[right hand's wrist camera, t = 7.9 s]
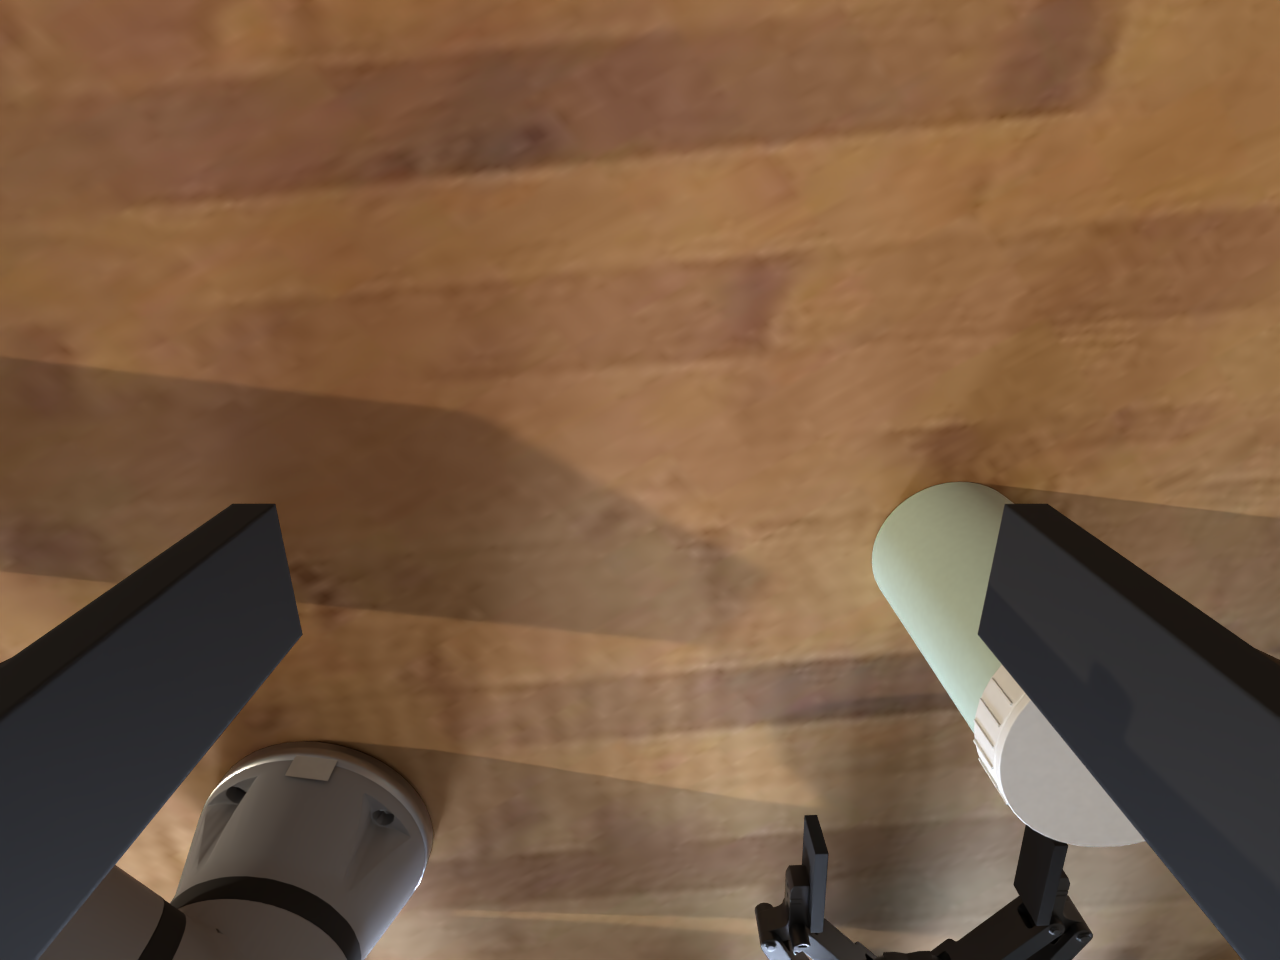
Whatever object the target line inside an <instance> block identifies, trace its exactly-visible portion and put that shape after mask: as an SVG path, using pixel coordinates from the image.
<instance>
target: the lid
mask: <svg viewBox="0 0 1280 960" xmlns="http://www.w3.org/2000/svg"><path fill="white" fill-rule="evenodd" d="M974 723H975V725H974V734H975V739H974V740H973V742H974V743H975V745H976V748H977V752H978V754H979V757H980V758H978V760H979V761H980V763H981V765H982V766H983V768H984V769H985V771H986V772H987V774H988V776H989V778H990V779H991V781H992V782H993V784H994V786H995V787H996V789H997V790H998V792H999V794H1000V795H1001V797H1002V798H1003V800H1004V802H1005V803H1006V805H1009V806H1010V808H1011V809H1012V810H1013V812H1014V813H1015V814H1016V815H1017V816H1018V817H1019V818H1020V819H1021V820H1022V821H1023V822H1024V823H1025V824H1026V825H1028V826H1029V827H1030V828H1032V829H1033V830H1035V831H1037V832H1039V833H1040V834H1042V835H1044V836H1046V837H1049V838H1051V839H1054V840H1057V841H1060V842H1064V843H1068V844H1072V845H1079V846H1086V847H1114V846H1124V845H1130V844H1136V843H1140V842H1144V841H1145V840H1144V838H1143V837H1142V836H1141V835H1140V833H1139V832H1138V831H1137V830H1136V829H1135V827H1134V826H1133V825H1132V824H1131V822H1130V821H1129V820H1128V819H1127V817H1126V816H1125V815H1124V814H1123V813H1122V811H1121V810H1120V809H1119V808H1118V806H1117V805H1116V804H1115V803H1114V801H1113V800H1112V799H1111V798H1110V797H1109V795H1108V794H1107V793H1106V792H1105V790H1104V789H1103V788H1102V787H1101V786H1100V784H1099V783H1098V782H1097V781H1096V779H1095V778H1094V777H1093V776H1092V774H1091V773H1090V772H1089V771H1088V770H1087V768H1086V767H1085V766H1084V765H1083V763H1082V762H1081V761H1080V760H1079V759H1078V757H1077V756H1076V755H1075V754H1074V752H1073V751H1072V750H1071V749H1070V747H1069V746H1068V745H1067V744H1066V743H1065V741H1064V740H1063V739H1062V738H1061V736H1060V735H1059V734H1058V733H1057V731H1056V730H1055V729H1054V728H1053V727H1052V725H1051V724H1050V723H1049V722H1048V720H1047V719H1046V718H1045V717H1044V716H1043V714H1042V713H1041V712H1040V711H1039V709H1038V708H1037V707H1036V706H1035V704H1034V703H1033V702H1032V701H1031V700H1030V698H1029V697H1028V696H1027V695H1026V693H1025V692H1024V691H1023V690H1022V689H1021V687H1020V686H1019V685H1018V684H1017V682H1016V681H1015V680H1014V679H1013V677H1012V676H1011V675H1010V674H1009V673H1008V671H1007V670H1006V669H1005V668H1004V666H1003V665H1001V666H1000V667H999V668H998V670H997V671H996V672H995V674H994V675H993V676H992V677H991V679H990V681H989V682H988V684H987V686H986V688H985V689H984V692H983V694H982V696H981V698H980V699H979V704H978V708H977V711H976V715H975V719H974Z"/></svg>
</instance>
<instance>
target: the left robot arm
mask: <svg viewBox="0 0 1280 960" xmlns="http://www.w3.org/2000/svg"><path fill="white" fill-rule="evenodd" d="M1067 848H1068V844H1067V843H1064V842H1060V841H1057V840H1054V839H1051V838H1049V837H1046V836H1044V835H1042V834H1040V833H1039V832H1037V831H1035V830H1033V829H1032V828H1030V827H1029V826H1028V825H1026V827H1025V832H1024V837H1023V841H1022V846H1021V851H1020V856H1019V861H1018V866H1017V870H1016V875H1015V880H1014V887H1015V888H1016V890H1017V892H1018V894H1019V895H1020V896H1018V897H1017V898H1016V899H1014V900H1013V901H1012V902H1010V903H1009V904H1007V905H1006V906H1005V907H1003V908H1002V909H1001V910H999V911H998V912H997V913H995V914H994V915H993V916H991V917H990V918H988V919H987V920H986V921H984V922H983V923H982V924H980V925H979V926H978V927H976V928H975V929H974V930H972V931H971V932H969V933H968V934H967V935H965V936H964V937H963V938H961V939H960V940H959V941H957V942H956V941H954V940H952V939H947V940H945V941H944V942H943V943H941V944H940V945H939V946H937V947H936V948H935V949H933V950H932V951H931V952H930V951H917V952H913V953H908V954H904V953H898V952H883V956H880V957H876V956H875V955H874V954H873V953H872V952H870V951H869V950H868V949H867V948H866V947H864V946H863V945H862V944H861V943H860V942H856V943H853V942H852V941H851V940H850V939H848V938H847V937H846V936H845V935H844V934H843V933H841V932H840V931H839V930H838V929H837V928H835V927H834V926H833V925H832V924H831V923H830V922H828V921H827V920H826V919H825V918H824V909H825V895H826V880H827V866H828V851H827V847H826V844H825V840H824V837H823V834H822V830H821V827H820V824H819V820H818V817H817V815H805V818H804V837H803V856H802V865H789V867H788V869H787V870H786V879H785V898H784V900H783V903H782V904H781V905H779V906H777V907H773V906H772V905H771V904H768V903H761V904H759V905H757V906H756V907H755V914H756V920H757V926H758V932H759V938H760V944H761V948H762V950H763V952H764V953H765V955H766V956H767V957H768V959H769V960H809V959H808V957H807V956H806V954H807V955H808V956H809V957H811V958H812V959H813V960H1072V959H1073V958H1074V957H1075V956H1076V955H1077V954H1078V953H1079V952H1080V951H1081V950H1082V948H1083V947H1084V946H1085V945H1086V944H1087V943H1088V942H1089V941H1090V940H1091V939H1092V938H1093V934H1092V932H1091V931H1090V929H1089V928H1088V926H1087V924H1086V923H1085V921H1084V920H1083V918H1082V916H1081V915H1080V913H1079V912H1078V910H1077V908H1076V907H1075V905H1074V904H1073V902H1072V901H1071V899H1070V898H1069V896H1068V895H1067V894H1068V890H1069V886H1070V882H1069V879H1068V877H1067V875H1066V874H1065V872H1064V871H1063V865H1064V861H1065V857H1066V853H1067ZM805 953H806V954H805Z"/></svg>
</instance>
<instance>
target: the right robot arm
mask: <svg viewBox="0 0 1280 960" xmlns="http://www.w3.org/2000/svg"><path fill="white" fill-rule="evenodd" d="M301 636H302V630H301V625H300V620H299V615H298V610H297V606H296V601H295V596H294V591H293V586H292V582H291V577H290V572H289V567H288V563H287V558H286V553H285V548H284V543H283V539H282V534H281V529H280V524H279V520H278V515H277V510H276V505H275V504H232V505H230V506H229V507H227V508H226V509H225V510H223V511H222V512H220V513H219V514H217V515H216V516H214V517H213V518H212V519H210V520H209V521H207V522H206V523H204V524H203V525H202V526H200V527H199V528H197V529H196V530H194V531H193V532H192V533H190V534H189V535H187V536H186V537H184V538H183V539H181V540H180V541H179V542H177V543H176V544H174V545H173V546H171V547H170V548H169V549H167V550H166V551H164V552H163V553H161V554H160V555H159V556H157V557H156V558H154V559H153V560H151V561H150V562H148V563H147V564H146V565H144V566H143V567H141V568H140V569H138V570H137V571H136V572H134V573H133V574H131V575H130V576H128V577H127V578H126V579H124V580H123V581H121V582H120V583H118V584H117V585H115V586H114V587H113V588H111V589H110V590H108V591H107V592H105V593H104V594H103V595H101V596H100V597H98V598H97V599H95V600H94V601H93V602H91V603H90V604H88V605H87V606H85V607H84V608H82V609H81V610H80V611H78V612H77V613H75V614H74V615H72V616H71V617H70V618H68V619H67V620H65V621H64V622H62V623H61V624H60V625H58V626H57V627H55V628H54V629H52V630H51V631H49V632H48V633H47V634H45V635H44V636H42V637H41V638H39V639H38V640H37V641H35V642H34V643H32V644H31V645H29V646H28V647H27V648H25V649H24V650H22V651H21V652H19V653H18V654H16V655H15V656H14V657H12V658H10V659H8V660H6V661H4V662H2V663H0V960H364V959H365V958H366V956H367V955H368V954H369V952H370V951H371V950H372V948H373V947H374V946H375V944H376V943H377V942H378V940H379V939H380V938H381V936H382V935H383V934H384V932H385V931H386V930H387V928H388V927H389V926H390V924H391V923H392V922H393V920H394V919H395V917H396V916H397V915H398V913H399V912H400V911H401V909H402V908H403V907H404V905H405V904H406V903H407V901H408V900H409V899H410V897H411V896H412V894H413V893H414V891H415V889H416V888H417V887H418V885H419V883H420V881H421V879H422V877H423V874H424V871H425V868H426V865H427V862H428V859H429V856H430V853H431V849H432V844H433V829H432V824H431V819H430V816H429V813H428V811H427V809H426V806H425V804H424V803H423V801H422V799H421V798H420V796H419V795H418V793H417V792H416V791H415V790H414V788H413V787H412V786H411V785H410V784H409V783H408V782H407V781H406V780H405V779H404V778H403V777H402V776H401V775H399V774H398V773H397V772H396V771H394V770H393V769H392V768H390V767H389V766H387V765H385V764H384V763H382V762H381V761H379V760H377V759H375V758H373V757H371V756H369V755H366V754H364V753H362V752H359V751H356V750H353V749H350V748H347V747H343V746H339V745H334V744H329V743H321V742H290V743H282V744H277V745H273V746H269V747H266V748H263V749H261V750H258V751H256V752H254V753H252V754H250V755H248V756H246V757H245V758H243V759H242V760H240V761H239V762H237V763H236V764H235V765H234V766H233V767H232V768H231V769H230V770H229V771H228V772H227V773H226V775H225V776H224V777H223V779H222V780H221V781H220V783H219V784H218V785H217V787H216V788H215V789H214V791H213V792H212V793H211V795H210V796H209V798H208V799H207V801H206V803H205V805H204V808H203V811H202V813H201V815H200V818H199V821H198V824H197V828H196V831H195V834H194V837H193V840H192V844H191V847H190V850H189V853H188V856H187V860H186V863H185V866H184V869H183V872H182V876H181V879H180V882H179V885H178V888H177V892H176V895H175V897H174V898H173V900H172V901H171V903H168V902H167V901H165V900H164V899H163V898H162V897H160V896H159V895H158V894H156V893H155V892H153V891H152V890H150V889H149V888H147V887H146V886H145V885H143V884H142V883H140V882H139V881H137V880H136V879H135V878H133V877H132V876H130V875H129V874H127V873H126V872H125V871H123V870H122V869H120V868H119V867H117V866H116V865H115V864H116V863H117V862H118V860H119V859H120V858H121V857H122V856H123V854H124V853H125V852H126V851H127V849H128V848H129V847H130V846H131V844H132V843H133V842H134V841H135V840H136V838H137V837H138V836H139V835H140V833H141V832H142V831H143V830H144V829H145V827H146V826H147V825H148V824H149V822H150V821H151V820H152V819H153V817H154V816H155V815H156V814H157V813H158V811H159V810H160V809H161V808H162V806H163V805H164V804H165V803H166V801H167V800H168V799H169V798H170V797H171V795H172V794H173V793H174V792H175V790H176V789H177V788H178V787H179V786H180V784H181V783H182V782H183V781H184V779H185V778H186V777H187V776H188V774H189V773H190V772H191V771H192V770H193V768H194V767H195V766H196V765H197V763H198V762H199V761H200V760H201V759H202V757H203V756H204V755H205V754H206V752H207V751H208V750H209V749H210V747H211V746H212V745H213V744H214V743H215V741H216V740H217V739H218V738H219V736H220V735H221V734H222V733H223V731H224V730H225V729H226V728H227V727H228V725H229V724H230V723H231V722H232V720H233V719H234V718H235V717H236V716H237V714H238V713H239V712H240V711H241V709H242V708H243V707H244V706H245V704H246V703H247V702H248V701H249V700H250V698H251V697H252V696H253V695H254V693H255V692H256V691H257V690H258V689H259V687H260V686H261V685H262V684H263V682H264V681H265V680H266V679H267V677H268V676H269V675H270V674H271V673H272V671H273V670H274V669H275V668H276V666H277V665H278V664H279V663H280V661H281V660H282V659H283V658H284V657H285V655H286V654H287V653H288V652H289V650H290V649H291V648H292V647H293V646H294V644H295V643H296V642H297V641H298V639H299V638H300V637H301ZM978 636H979V637H980V638H981V639H982V641H983V642H984V643H985V644H986V646H987V647H988V648H989V649H990V650H991V652H992V653H993V654H994V655H995V657H996V658H997V659H998V660H999V661H1000V663H1001V664H1002V665H1003V666H1004V668H1005V669H1006V670H1007V671H1008V673H1009V674H1010V675H1011V676H1012V677H1013V679H1014V680H1015V681H1016V682H1017V684H1018V685H1019V686H1020V687H1021V689H1022V690H1023V691H1024V692H1025V693H1026V695H1027V696H1028V697H1029V698H1030V700H1031V701H1032V702H1033V703H1034V704H1035V706H1036V707H1037V708H1038V709H1039V711H1040V712H1041V713H1042V714H1043V716H1044V717H1045V718H1046V719H1047V720H1048V722H1049V723H1050V724H1051V725H1052V727H1053V728H1054V729H1055V730H1056V731H1057V733H1058V734H1059V735H1060V736H1061V738H1062V739H1063V740H1064V741H1065V743H1066V744H1067V745H1068V746H1069V747H1070V749H1071V750H1072V751H1073V752H1074V754H1075V755H1076V756H1077V757H1078V759H1079V760H1080V761H1081V762H1082V763H1083V765H1084V766H1085V767H1086V768H1087V770H1088V771H1089V772H1090V773H1091V774H1092V776H1093V777H1094V778H1095V779H1096V781H1097V782H1098V783H1099V784H1100V786H1101V787H1102V788H1103V789H1104V790H1105V792H1106V793H1107V794H1108V795H1109V797H1110V798H1111V799H1112V800H1113V801H1114V803H1115V804H1116V805H1117V806H1118V808H1119V809H1120V810H1121V811H1122V813H1123V814H1124V815H1125V816H1126V817H1127V819H1128V820H1129V821H1130V822H1131V824H1132V825H1133V826H1134V827H1135V829H1136V830H1137V831H1138V832H1139V833H1140V835H1141V836H1142V837H1143V838H1144V840H1145V841H1146V842H1147V843H1148V844H1149V846H1150V847H1151V848H1152V849H1153V851H1154V852H1155V853H1156V854H1157V856H1158V857H1159V858H1160V859H1161V860H1162V862H1163V863H1164V864H1165V865H1166V867H1167V868H1168V869H1169V870H1170V872H1171V873H1172V874H1173V875H1174V876H1175V878H1176V879H1177V880H1178V881H1179V883H1180V884H1181V885H1182V886H1183V887H1184V889H1185V890H1186V891H1187V892H1188V894H1189V895H1190V896H1191V897H1192V899H1193V900H1194V901H1195V902H1196V903H1197V905H1198V906H1199V907H1200V908H1201V910H1202V911H1203V912H1204V913H1205V914H1206V916H1207V917H1208V918H1209V919H1210V921H1211V922H1212V923H1213V924H1214V926H1215V927H1216V928H1217V929H1218V930H1219V932H1220V933H1221V934H1222V935H1223V937H1224V938H1225V939H1226V940H1227V942H1228V943H1229V944H1230V945H1231V946H1232V948H1233V949H1234V950H1235V951H1236V953H1237V954H1238V955H1239V956H1240V957H1241V959H1242V960H1280V660H1279V659H1277V658H1274V657H1272V656H1270V655H1268V654H1266V653H1264V652H1262V651H1260V650H1258V649H1255V648H1253V647H1252V646H1251V645H1249V644H1248V643H1246V642H1245V641H1243V640H1242V639H1241V638H1239V637H1238V636H1236V635H1235V634H1233V633H1232V632H1231V631H1229V630H1228V629H1226V628H1225V627H1223V626H1222V625H1220V624H1219V623H1218V622H1216V621H1215V620H1213V619H1212V618H1210V617H1209V616H1208V615H1206V614H1205V613H1203V612H1202V611H1200V610H1199V609H1198V608H1196V607H1195V606H1193V605H1192V604H1190V603H1189V602H1187V601H1186V600H1185V599H1183V598H1182V597H1180V596H1179V595H1177V594H1176V593H1175V592H1173V591H1172V590H1170V589H1169V588H1167V587H1166V586H1165V585H1163V584H1162V583H1160V582H1159V581H1157V580H1156V579H1154V578H1153V577H1152V576H1150V575H1149V574H1147V573H1146V572H1144V571H1143V570H1142V569H1140V568H1139V567H1137V566H1136V565H1134V564H1133V563H1132V562H1130V561H1129V560H1127V559H1126V558H1124V557H1123V556H1121V555H1120V554H1119V553H1117V552H1116V551H1114V550H1113V549H1111V548H1110V547H1109V546H1107V545H1106V544H1104V543H1103V542H1101V541H1100V540H1099V539H1097V538H1096V537H1094V536H1093V535H1091V534H1090V533H1088V532H1087V531H1086V530H1084V529H1083V528H1081V527H1080V526H1078V525H1077V524H1076V523H1074V522H1073V521H1071V520H1070V519H1068V518H1067V517H1066V516H1064V515H1063V514H1061V513H1060V512H1058V511H1057V510H1055V509H1054V508H1053V507H1051V506H1050V505H1048V504H1005V505H1004V510H1003V515H1002V520H1001V524H1000V529H999V534H998V539H997V543H996V548H995V553H994V558H993V563H992V567H991V572H990V577H989V582H988V586H987V591H986V596H985V601H984V606H983V610H982V615H981V620H980V625H979V630H978Z"/></svg>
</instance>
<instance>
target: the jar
mask: <svg viewBox="0 0 1280 960" xmlns="http://www.w3.org/2000/svg"><path fill="white" fill-rule="evenodd" d="M1005 504H1014V503H1013V502H1012V501H1010V500H1009V499H1008V498H1006V497H1005V496H1004V495H1002V494H1001V493H999V492H998V491H996V490H994V489H992V488H990V487H987V486H984V485H981V484H977V483H970V482H951V483H944V484H939V485H935V486H932V487H929V488H926V489H924V490H922V491H920V492H918V493H916V494H914V495H913V496H911V497H909V498H908V499H906V500H905V501H904V502H903V503H901V504H900V505H899V506H898V507H897V508H896V509H895V510H894V511H893V512H892V513H891V514H890V515H889V516H888V518H887V519H886V520H885V522H884V523H883V525H882V526H881V528H880V530H879V532H878V534H877V537H876V540H875V543H874V547H873V552H872V568H873V573H874V577H875V580H876V582H877V584H878V587H879V588H880V590H881V591H882V593H883V594H884V596H885V597H886V599H887V601H888V602H889V604H890V605H891V607H892V608H893V610H894V611H895V613H896V614H897V616H898V617H899V619H900V620H901V622H902V624H903V625H904V627H905V628H906V630H907V631H908V633H909V634H910V636H911V637H912V639H913V640H914V642H915V644H916V645H917V647H918V648H919V650H920V651H921V653H922V654H923V656H924V657H925V659H926V660H927V662H928V664H929V665H930V667H931V668H932V670H933V671H934V673H935V674H936V676H937V677H938V679H939V680H940V682H941V684H942V685H943V687H944V688H945V690H946V691H947V693H948V694H949V696H950V697H951V699H952V700H953V702H954V703H955V705H956V707H957V708H958V710H959V711H960V713H961V714H962V716H963V717H964V719H965V720H966V722H967V723H968V725H969V727H970V728H971V730H972V731H973V733H974V725H975V723H974V719H975V715H976V711H977V708H978V704H979V699H980V698H981V696H982V694H983V692H984V689H985V688H986V686H987V684H988V682H989V681H990V679H991V677H992V676H993V675H994V674H995V672H996V671H997V670H998V668H999V667H1000V666H1001V665H1002V664H1001V663H1000V661H999V660H998V659H997V658H996V657H995V655H994V654H993V653H992V652H991V650H990V649H989V648H988V647H987V646H986V644H985V643H984V642H983V641H982V639H981V638H980V637H979V636H978V630H979V625H980V620H981V615H982V610H983V606H984V601H985V596H986V591H987V586H988V582H989V577H990V572H991V567H992V563H993V558H994V553H995V548H996V543H997V539H998V534H999V529H1000V524H1001V520H1002V515H1003V510H1004V505H1005Z"/></svg>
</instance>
